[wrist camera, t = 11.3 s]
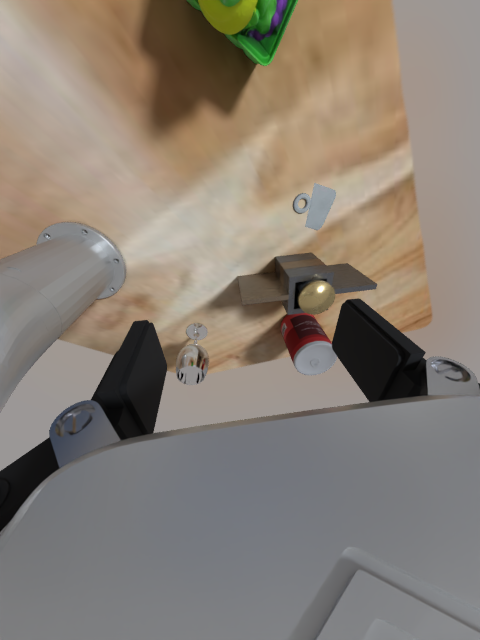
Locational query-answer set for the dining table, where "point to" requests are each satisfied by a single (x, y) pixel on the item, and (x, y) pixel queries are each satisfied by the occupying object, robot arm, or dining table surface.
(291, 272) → the hinge leaf
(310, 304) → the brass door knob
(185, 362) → the wineglass
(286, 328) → the canned food
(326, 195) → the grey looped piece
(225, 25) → the fruit basket
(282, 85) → the dining table surface
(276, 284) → the hinge leaf
